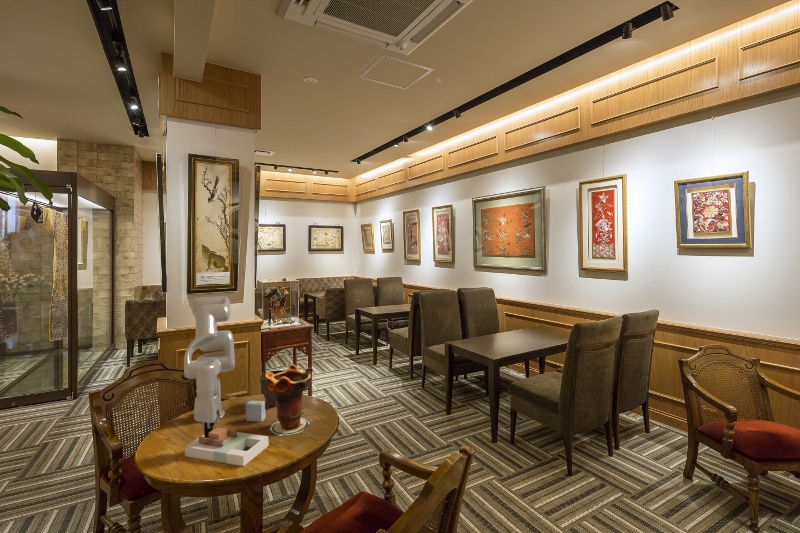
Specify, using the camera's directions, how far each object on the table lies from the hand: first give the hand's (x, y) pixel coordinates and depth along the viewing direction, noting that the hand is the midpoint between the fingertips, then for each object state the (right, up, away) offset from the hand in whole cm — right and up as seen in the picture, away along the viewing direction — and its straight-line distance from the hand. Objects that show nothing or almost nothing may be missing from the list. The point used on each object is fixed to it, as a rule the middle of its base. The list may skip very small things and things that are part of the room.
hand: (208, 436), depth 165 cm
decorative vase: (+29, -4, +19) cm, 35 cm away
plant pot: (+13, -3, +45) cm, 47 cm away
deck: (+9, -5, -2) cm, 10 cm away
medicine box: (+10, -4, +27) cm, 29 cm away
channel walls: (+4, -1, -1) cm, 5 cm away
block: (+4, -1, -1) cm, 5 cm away
